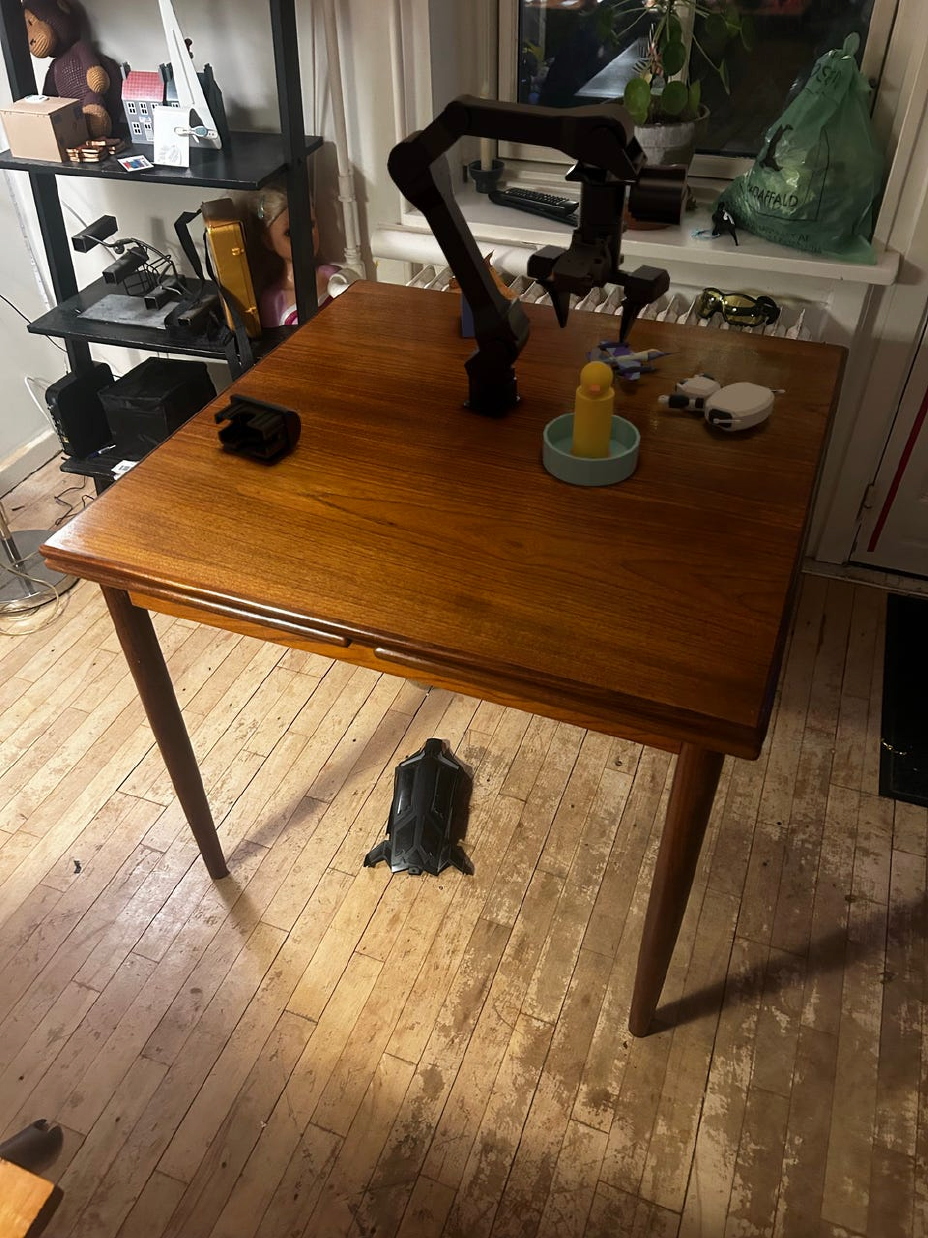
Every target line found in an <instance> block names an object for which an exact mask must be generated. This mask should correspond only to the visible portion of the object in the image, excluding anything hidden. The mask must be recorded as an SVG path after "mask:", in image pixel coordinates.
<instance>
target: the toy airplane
mask: <svg viewBox="0 0 928 1238" xmlns="http://www.w3.org/2000/svg"><path fill="white" fill-rule="evenodd" d="M631 345H632V344H631V343H629V341H628V340H627V341H626V340H625V342H623V343H619V340H617V341H616V340H612V339H605V340H600V344H598V345H597V346H596V347H591V348H590V349H589V351H586V352H585V355H586V358H587V361H588V364H589V363H591V362H594V361H600V362H603V363H605V364H607V365H608V366H609V367H610V369H611V371H612V374H613V380H612V382H614V381H615V380H616V378H615V375H616V376H618V377H625V379H626V380H627V381H628V382H633V381H639V380H640V376H642V375H645V374H649V373H650V372H653V371H655V370H656V365H655V364H654V363H653V360H656V359H660V358H662V357H666V356H669V355H675V354H682V351H679V352H678V351H676V352H661V351H660V350H657V349H655V348H651V349H647V350H644V351H640V352H635V351H634V350H630V349H629V346H631ZM604 352H607V354H608V355H609V356H610V357H608V356H607V355H606V354H605V353H604ZM643 363H649V365H644V364H643ZM610 364H612V365H613V364H615V365H614V366H612V367H611V365H610ZM613 371H616V372H615V375H614V373H613Z"/></svg>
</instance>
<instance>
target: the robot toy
mask: <svg viewBox="0 0 928 1238" xmlns="http://www.w3.org/2000/svg"><path fill="white" fill-rule="evenodd" d="M674 391H675V393H670V395H669V396H668V395H660V396H659V397H658V399H657V403H658V404H659V405H668V408H669V409H683V408H684V409H685V410H687V411H691V412H694V411H698V412H703V413H704V419H706V421H707V422H708V423H709V424H710V425H713V426H717V427H719V428H720V429H722V430H724V431H726V432H735V431H741V430H747V429H748V428H752V427H754V426H756V425H758V424H760V423H762V422H764V421H765V420H766V419H767V418H769V416H770V415H771V413H772V412H773V409H774V403H775V393H777V394H778V393H779V394H783V393H785V392H786V390H784V389H770V388H768V387H765V386H761V385H758V384H755V383H751V382H748V381H746V382H735V383H731V384H729V385H726V386H723V385H721V384H720V383H719V382H717V381H715V378H714V377H713V376H712V375H711V374H709V373H698V374H695V375H694V376H693V377H691V378H690V377H688V378H683V380H682V381H679V382H677V383H676V384H675V387H674Z"/></svg>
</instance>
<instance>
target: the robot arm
mask: <svg viewBox="0 0 928 1238" xmlns="http://www.w3.org/2000/svg"><path fill="white" fill-rule="evenodd" d="M635 129H636V127H635V122H634V118H633V116H632V114H631V113H630V111H629V110H628V109H627V107H625V106H624V105H621V104H618V103H597V104H587V105H581V106H580V105H579V106H576V107H575V106H574V107H568V108H556V107H549V106H543V105H536V104H535V105H534V104H527V103H520V102H513V101H506V100H499V99H498V100H497V99H492V98H491V99H490V98H483V97H476V96H473V95H471V94H469V93H461V94H460V95H458V96H456V97H455V98H453V99H452V100H451V101H450V102H448V103H447V104H446V105H445V107H444V108H443V111H441V113H440V114H439V115H438V116H436V117H435V118H434V119H433V120H432V121H431V122H430V123H429V124H428V125H427V126H426V127H424V129H418V130H415V131H412V133H410V134H409V135H408V136H406V137H405V138H403V139H402V140H401V141H399V142H398V143H397V144H396V145H394V147H392V149H391V150H390V152H389V154H388V158H387V163H386V167H387V168H386V169H387V172H388V175H389V177H390V179H391V180H392V182H393V184H395V186H396V188H397V189H398V190H399V192H400V194H402V196H403V197H404V198H405V200H406V201H407V202H408V203H409V204H411V205H412V206H413V207H414V208H415V209H417V210H418V211H419V212H420V213H421V214H422V215H423V217H424V218H425V220H426V223H427V224H428V227H429V228H430V230H431V232H432V234H433V236H434V238H435V240H436V242H437V244H438V246H439V248H440V250H441V252H442V254H443V256H444V258H445V260H446V263H447V264H448V266H449V268H450V270H451V273H452V274H453V276H454V279H455V280H456V282H457V285H458V286H459V288H460V291H461V290H462V292H463V294H464V296H465V298H466V300H467V302H468V304H469V306H470V308H471V311H472V317H473V326H474V335H475V337H474V338H475V341H476V347H475V348H474V350H473V351H472V352H471V353H470V355H469V357H468V358H467V359H466V360H465V362H464V364H463V366H464V370H465V372H466V375H467V377H468V399H467V400H466V401H463V404H462V407H463V408H464V409H468V410H470V411H474V412H477V413H480V414H483V415H486V416H489V417H493V418H496V419H498V418H501V417H502V416H504V415H505V414H506V413H507V412H508V411H509V410H511V409H512V408H513V407H515V406H516V405H517V404H518V403H520V400H521V397H520V396H518V379H517V378H516V367H515V366H512V365H514V363H515V362H516V361H517V360H518V358H519V357H520V355H521V353H522V352H523V350H524V349H525V347H526V345H528V341H529V339H530V335H531V329H530V327H529V325H530V324H531V322H532V319H531V318H529V316H528V315H527V314H526V312H525V310H524V308H523V304H522V301H521V299H520V298H519V297H518V296H517V297H515V298H514V299H512V300H510V299H508V298H507V296H505V295H504V294H503V293H502V292H501V291H500V289H499V288H498V285H497V283H496V281H495V278H494V277H493V275H492V272H491V271H490V268H489V266H488V264H487V262H486V260H485V258H484V255H483V254H482V252H481V250H480V248H479V246H478V243H477V241H476V239H475V236H474V235H473V234H472V233H473V232H472V231H471V228H470V227H469V225H468V223H467V220H466V218H465V216H464V213H463V212H462V210H461V207H460V206H459V203H458V202H457V200H456V197H455V194H454V188H453V187H454V186H453V177H452V169H451V166H450V162H449V159H448V156H447V152H448V151H449V150H450V149H451V148H452V147H453V146H454V145H455V144H457V143H458V142H459V140H461V138H463V136H464V137H465V136H468V137H476V138H481V139H490V140H496V141H502V142H510V143H516V144H521V145H522V144H523V145H530V146H536V147H537V146H538V147H543V148H551V149H553V150H556V151H559V152H562V153H563V154H564V155H565V156H568V157H569V158H571V159H572V160H575V161H577V162H576V163H575V165H573V166H572V167H571V168H570V169H569V170H568V171H567V173H566V174H565V175H564V180H565V182H569V183H570V182H571V183H580V189H579V190H580V191H579V207H578V208H579V209H578V222H577V223H578V224H577V227H576V228H574V229H572V234H571V241H570V244H569V247H568V248H567V247H563V246H558V245H553V244H550V243H549V244H546V245H545V246H544V247H542V248H539V250H537V251H535V252H534V253H532V254H531V255H530V256H528V259H527V262H526V277H528V278H532V279H534V282H535V284H536V285H540V286H541V287H542V288H543V289H545V290H546V292H547V293H548V295H549V298H550V300H551V303H552V306H553V309H554V312H555V315H556V318H557V321H558V325H559V328H560V329H565V328H566V327H567V325H568V319H569V314H570V303H571V297H572V296H571V295H575V296H576V297H579V298H585V297H587V296H589V295H590V293H591V292H592V289H595V288H599V289H604V288H605V287H606V285H607V284H612V285H614V286H620V287H623V294H624V296H625V297H624V298H623V299H621V300H620V304H621V307H622V312H621V313H622V314H621V321H620V328H619V333H618V334H619V335H618V338H619V340H618V341H619V343H623V342H626V340H627V338H628V336H629V335H630V333H631V331H632V328H633V326H634V325H635V323H636V321H637V319H638V317H639V315H640V314H641V312H642V310H643V309H644V308H645V306H647V305H652V304H654V303H655V302H657V301H658V300H659V299H660V298H661V297H662V296H664V295H665V294H666V293H667V292H669V291H670V284H671V277H670V274H669V272H668V270H667V269H666V268H661V267H656V266H652V265H647V264H641V265H640V266H639V267H637V268H636V269H635V270H633V271H629V270H625V269H620V266H621V265H623V264H624V262H625V254H621V253H622V241H623V234H625V233H626V232H627V231H628V223H627V222H624V221H625V220H624V218H625V207H626V197H627V188H628V187H629V194H628V200H627V213H628V214H630V218H631V219H634V221H635V223H638V224H649V225H650V224H651V225H661V226H673V227H681V226H682V225H683V221H684V216H685V212H686V207H687V200H688V194H689V188H688V172H689V171H688V170H689V166H688V164H681V163H678V164H671V165H669V164H655V163H648V161H649V158H648V155H647V154H646V152H645V150H644V148H643V147H642V145H641V143H640V142H639V140H638V138H637V135H635V131H636V130H635Z"/></svg>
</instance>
